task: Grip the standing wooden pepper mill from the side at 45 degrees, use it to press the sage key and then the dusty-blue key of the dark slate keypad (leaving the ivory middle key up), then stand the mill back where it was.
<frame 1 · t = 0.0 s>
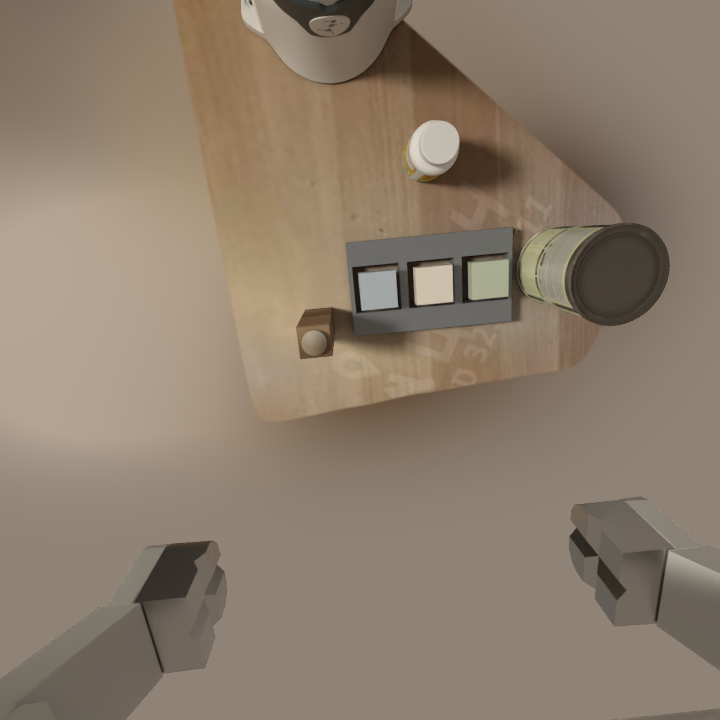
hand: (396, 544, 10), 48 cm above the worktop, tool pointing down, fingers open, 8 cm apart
key 1: (378, 289, 52), point 3 cm above the worktop, slide at 0.0 cm
key 2: (488, 279, 53), point 3 cm above the worktop, slide at 0.0 cm
keypad: (428, 281, 56), on the worktop
wooden pepper mill: (320, 321, 57), on the worktop
key mid: (433, 284, 53), point 3 cm above the worktop, slide at 0.0 cm
coffee can: (552, 265, 56), on the worktop
supplement bottle: (422, 159, 51), on the worktop
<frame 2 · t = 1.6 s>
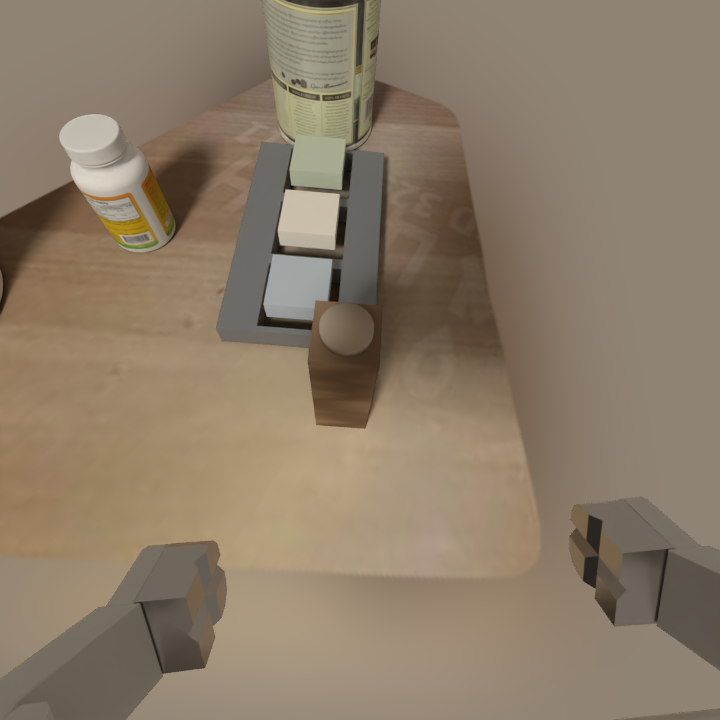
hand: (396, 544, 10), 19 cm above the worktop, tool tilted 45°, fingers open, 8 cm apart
key 1: (299, 287, 32), point 3 cm above the worktop, slide at 0.0 cm
key 2: (318, 162, 38), point 3 cm above the worktop, slide at 0.0 cm
keypad: (312, 244, 38), on the worktop
wooden pepper mill: (342, 403, 31), on the worktop
key mid: (310, 219, 35), point 3 cm above the worktop, slide at 0.0 cm
coffee can: (324, 126, 45), on the worktop
supplement bottle: (147, 232, 38), on the worktop
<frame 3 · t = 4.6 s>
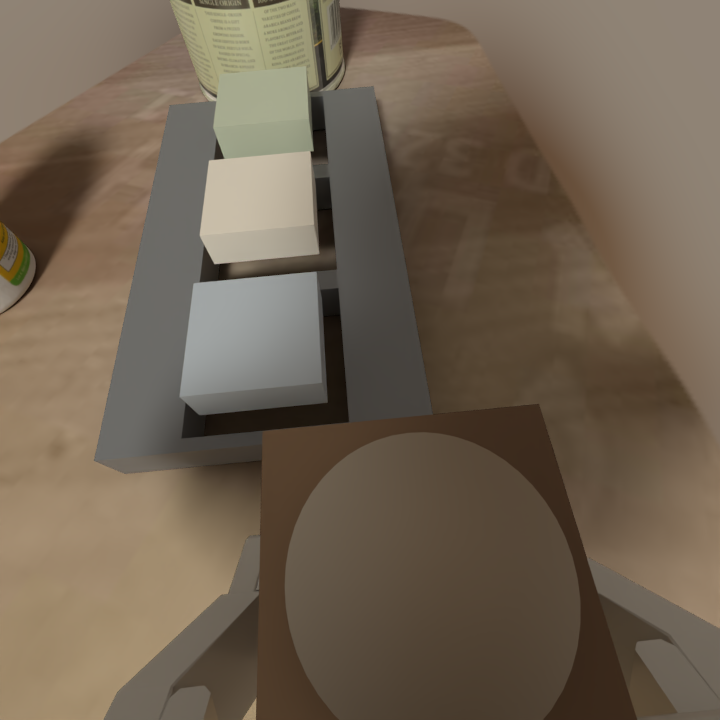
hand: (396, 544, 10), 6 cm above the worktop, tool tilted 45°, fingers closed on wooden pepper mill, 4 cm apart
key 1: (259, 341, 15), point 3 cm above the worktop, slide at 0.0 cm
key 2: (266, 112, 22), point 3 cm above the worktop, slide at 0.0 cm
keypad: (278, 255, 21), on the worktop
wooden pepper mill: (392, 577, 14), on the worktop, touching gripper
key mid: (263, 206, 18), point 3 cm above the worktop, slide at 0.0 cm
coffee can: (272, 77, 29), on the worktop
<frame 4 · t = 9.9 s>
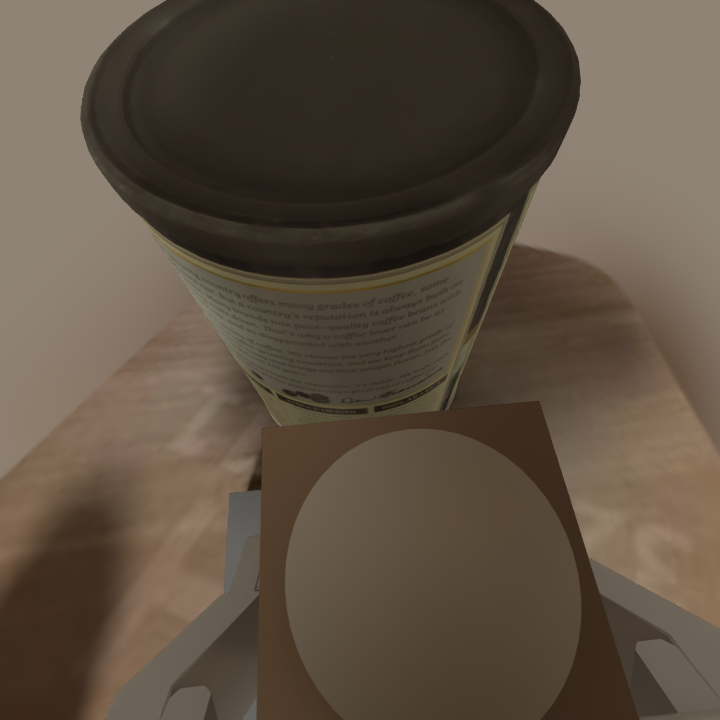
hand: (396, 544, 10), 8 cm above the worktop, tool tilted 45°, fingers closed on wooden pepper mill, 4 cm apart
wooden pepper mill: (392, 576, 14), point 3 cm above the worktop, touching gripper, key 2
coffee can: (357, 364, 21), on the worktop
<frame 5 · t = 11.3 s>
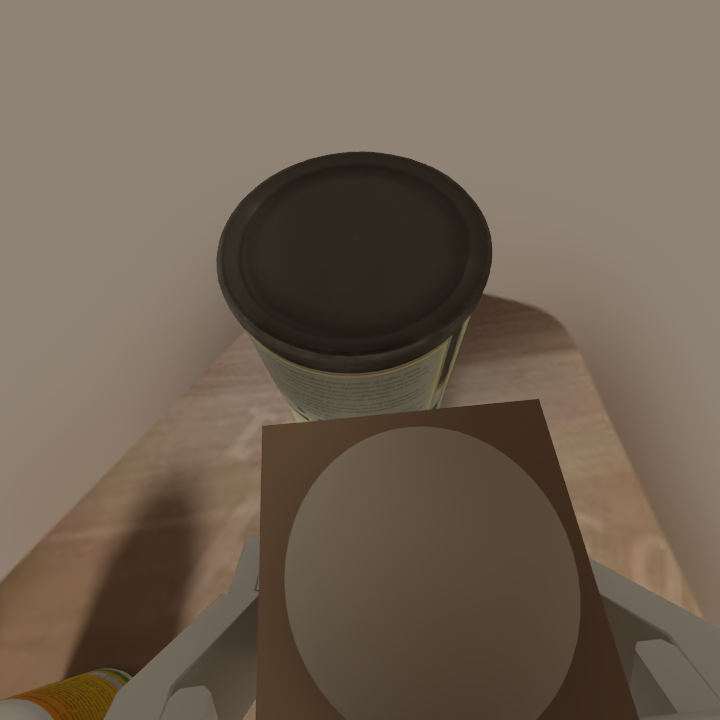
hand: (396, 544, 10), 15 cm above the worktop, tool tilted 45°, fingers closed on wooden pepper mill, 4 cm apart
wooden pepper mill: (392, 575, 14), point 10 cm above the worktop, touching gripper
coffee can: (364, 391, 28), on the worktop
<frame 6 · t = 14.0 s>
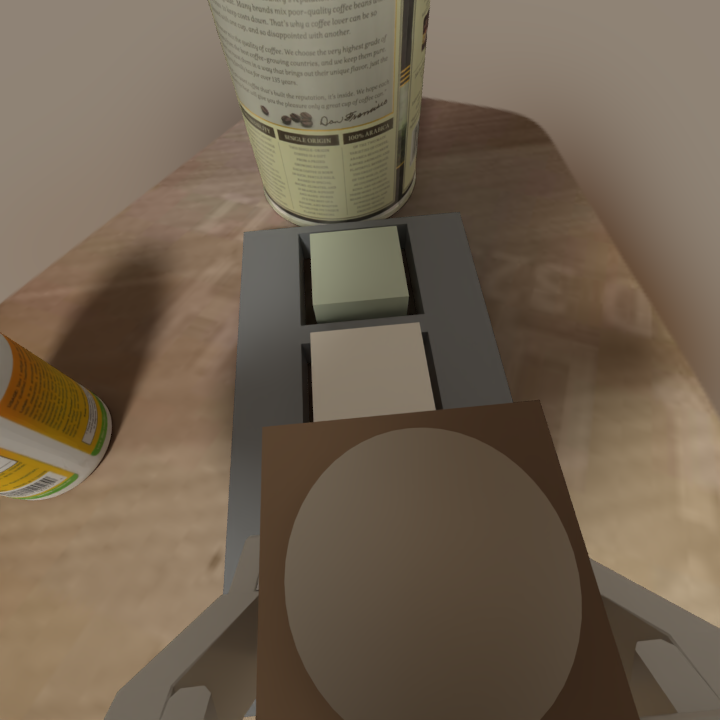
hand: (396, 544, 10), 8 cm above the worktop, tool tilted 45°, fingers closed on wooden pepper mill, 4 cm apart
key 2: (357, 274, 22), point 2 cm above the worktop, slide at 1.4 cm
keypad: (371, 412, 20), on the worktop
wooden pepper mill: (392, 575, 14), point 3 cm above the worktop, touching gripper
key mid: (370, 385, 17), point 3 cm above the worktop, slide at 0.0 cm
coffee can: (338, 180, 28), on the worktop
supplement bottle: (61, 444, 20), on the worktop
when the fingers open (7 cm above the worktop, at t = 17.9 s): wooden pepper mill drops 1 cm, on the worktop.
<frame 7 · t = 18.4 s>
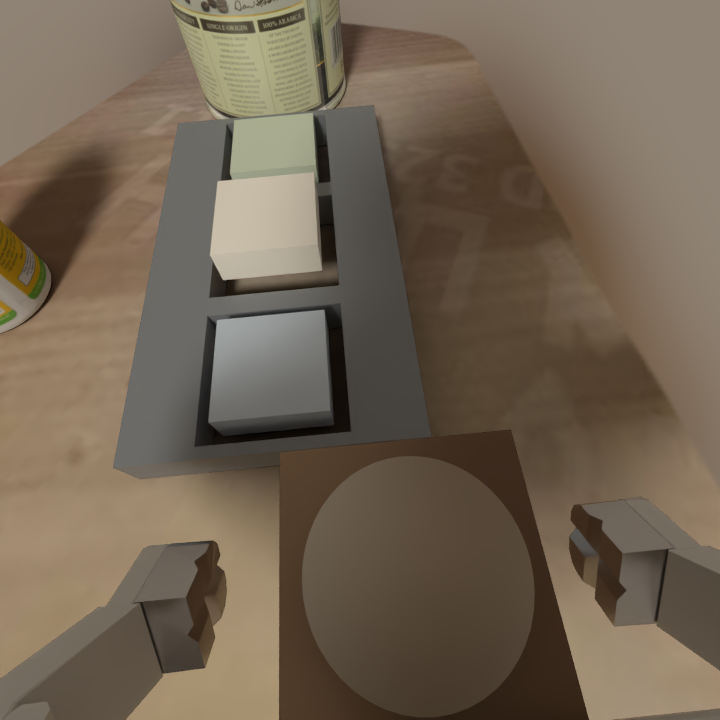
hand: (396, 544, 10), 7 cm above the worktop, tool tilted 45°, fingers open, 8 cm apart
key 1: (274, 371, 17), point 2 cm above the worktop, slide at 1.4 cm
key 2: (276, 155, 24), point 2 cm above the worktop, slide at 1.4 cm
keypad: (282, 269, 22), on the worktop
wooden pepper mill: (391, 575, 15), on the worktop
key mid: (269, 225, 19), point 3 cm above the worktop, slide at 0.0 cm
coffee can: (276, 93, 30), on the worktop
supplement bottle: (6, 298, 22), on the worktop
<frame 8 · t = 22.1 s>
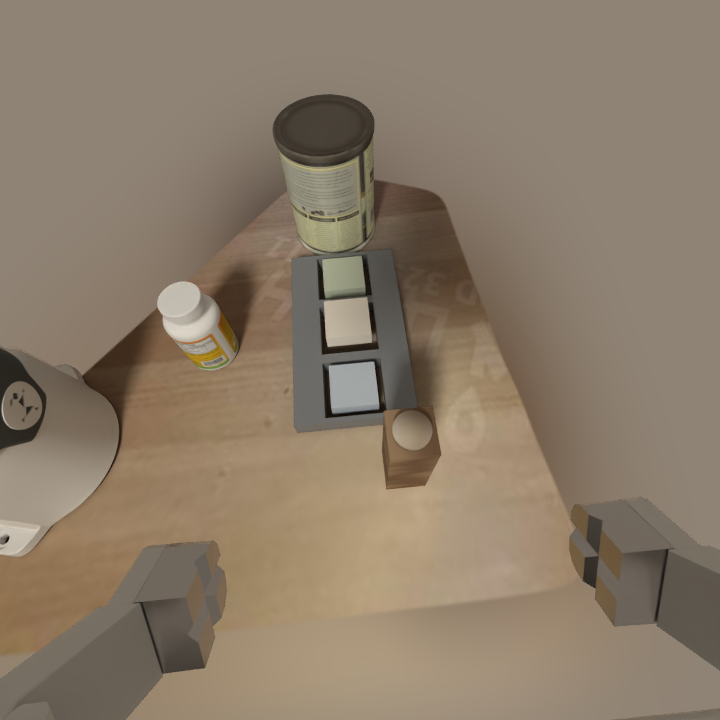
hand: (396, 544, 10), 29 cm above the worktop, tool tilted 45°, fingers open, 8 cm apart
key 1: (353, 387, 42), point 2 cm above the worktop, slide at 1.4 cm
key 2: (343, 277, 48), point 2 cm above the worktop, slide at 1.4 cm
keypad: (349, 337, 46), on the worktop
wooden pepper mill: (403, 468, 39), on the worktop
key mid: (347, 321, 44), point 3 cm above the worktop, slide at 0.0 cm
coffee can: (335, 229, 54), on the worktop
supplement bottle: (216, 351, 46), on the worktop
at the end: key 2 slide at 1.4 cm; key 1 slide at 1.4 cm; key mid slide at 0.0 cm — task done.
